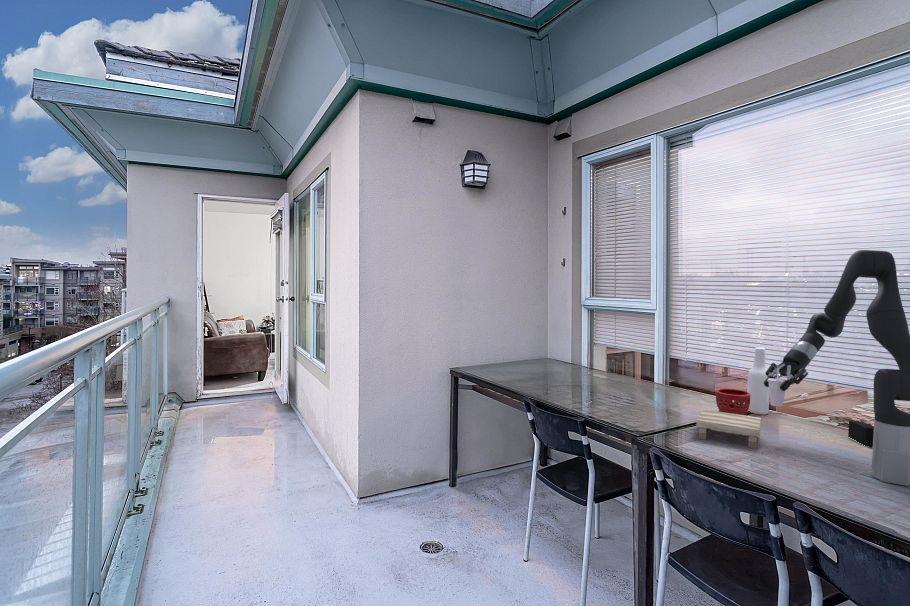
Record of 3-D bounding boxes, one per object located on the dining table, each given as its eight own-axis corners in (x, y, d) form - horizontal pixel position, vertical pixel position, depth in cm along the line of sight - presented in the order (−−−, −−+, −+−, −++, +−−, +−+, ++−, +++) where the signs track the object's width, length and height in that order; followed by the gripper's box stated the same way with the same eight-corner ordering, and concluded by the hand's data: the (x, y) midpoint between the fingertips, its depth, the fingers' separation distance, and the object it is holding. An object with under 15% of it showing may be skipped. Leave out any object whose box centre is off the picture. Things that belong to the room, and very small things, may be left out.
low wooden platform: (758, 449, 170) (759, 429, 170) (695, 438, 181) (696, 420, 181) (760, 435, 187) (761, 417, 186) (702, 426, 198) (703, 409, 197)
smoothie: (767, 406, 179) (768, 368, 179) (765, 402, 185) (767, 366, 184) (788, 408, 176) (789, 370, 176) (785, 404, 182) (787, 367, 181)
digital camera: (882, 448, 176) (883, 429, 175) (865, 446, 177) (866, 427, 176) (863, 439, 186) (865, 421, 186) (848, 438, 187) (849, 420, 187)
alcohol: (750, 408, 230) (753, 346, 229) (771, 413, 223) (774, 348, 222) (743, 411, 224) (746, 347, 223) (764, 415, 217) (767, 349, 216)
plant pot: (715, 412, 221) (716, 386, 220) (749, 417, 214) (750, 390, 214) (714, 419, 210) (715, 391, 209) (749, 424, 203) (750, 396, 202)
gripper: (778, 346, 189) (751, 377, 186) (813, 351, 175) (785, 384, 172) (788, 359, 190) (762, 390, 188) (824, 365, 176) (796, 398, 174)
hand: (773, 387), depth 180 cm, fingers closed on smoothie, 6 cm apart
